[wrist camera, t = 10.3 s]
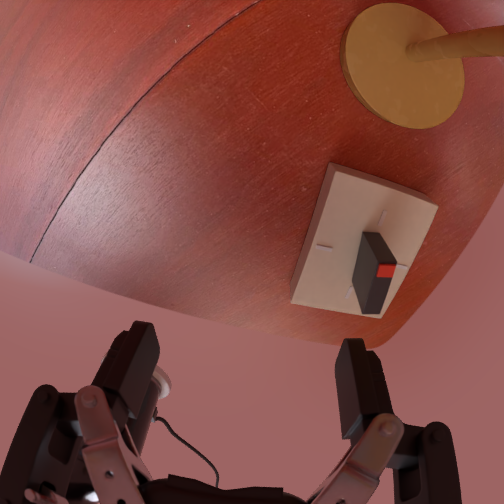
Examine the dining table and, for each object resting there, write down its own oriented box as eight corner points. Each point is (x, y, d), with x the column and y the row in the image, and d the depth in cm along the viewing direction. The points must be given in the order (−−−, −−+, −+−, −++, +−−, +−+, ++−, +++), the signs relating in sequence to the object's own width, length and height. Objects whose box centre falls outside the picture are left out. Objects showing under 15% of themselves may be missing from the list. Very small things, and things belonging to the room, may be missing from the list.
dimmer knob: (367, 281, 25) (380, 316, 21) (351, 280, 25) (362, 316, 21) (379, 232, 22) (398, 263, 18) (362, 231, 22) (378, 262, 18)
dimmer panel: (374, 300, 30) (381, 319, 27) (289, 284, 29) (290, 304, 27) (424, 193, 23) (439, 206, 20) (328, 161, 23) (336, 171, 20)
